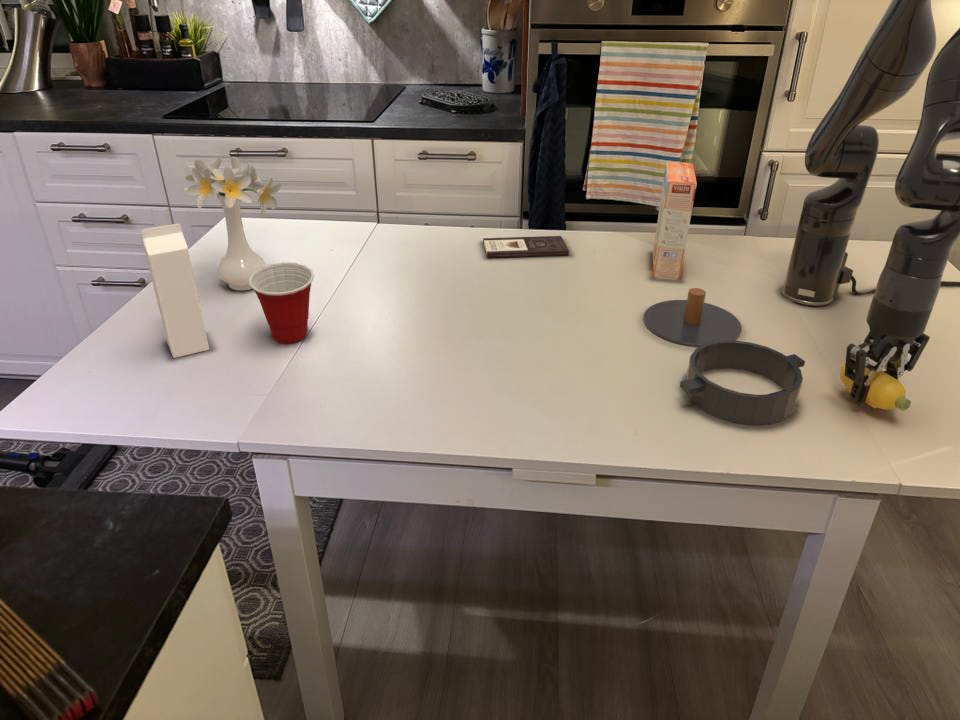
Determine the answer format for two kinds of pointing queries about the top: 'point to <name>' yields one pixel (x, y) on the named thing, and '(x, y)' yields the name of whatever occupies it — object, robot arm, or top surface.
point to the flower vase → (233, 213)
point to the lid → (692, 321)
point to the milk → (175, 289)
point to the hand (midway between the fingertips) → (870, 398)
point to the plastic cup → (284, 299)
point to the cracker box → (673, 219)
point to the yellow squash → (882, 391)
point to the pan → (742, 404)
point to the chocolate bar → (525, 246)
